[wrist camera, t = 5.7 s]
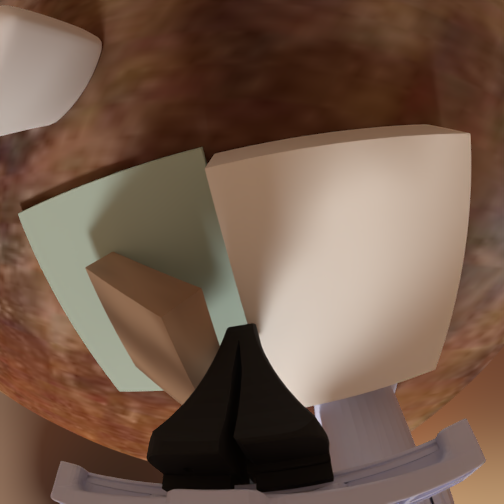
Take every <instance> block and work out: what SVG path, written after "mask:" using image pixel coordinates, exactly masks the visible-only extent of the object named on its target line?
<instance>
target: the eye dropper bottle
mask: <svg viewBox="0 0 504 504" xmlns="http://www.w3.org/2000/svg"><path fill="white" fill-rule="evenodd" d="M101 50H102V42H101V41H100V39H99V38H98V37H96V36H95V35H93V34H91V33H90V32H88V31H86V30H84V29H82V28H80V27H77V26H74V25H72V24H69V23H66V22H64V21H61V20H58V19H55V18H52V17H49V16H46V15H43V14H39V13H36V12H33V11H29V10H26V9H22V8H17V7H13V6H7V5H2V6H0V136H3V135H7V134H11V133H15V132H19V131H24V130H28V129H33V128H37V127H42V126H47V125H51V124H53V123H55V122H57V121H58V120H59V119H60V118H61V117H62V116H63V115H65V113H66V112H67V111H68V110H69V109H70V108H71V107H72V106H73V105H74V103H75V102H76V101H77V99H78V98H79V97H80V95H81V94H82V92H83V91H84V89H85V88H86V86H87V84H88V82H89V81H90V79H91V77H92V75H93V72H94V70H95V68H96V65H97V63H98V60H99V57H100V54H101Z"/></svg>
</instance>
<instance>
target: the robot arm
mask: <svg viewBox="0 0 504 504" xmlns="http://www.w3.org/2000/svg"><path fill="white" fill-rule="evenodd" d="M396 387H397V383H396V384H393V385H390V386H387V387H384V388H381V389H377V390H374V391H370V392H367V393H363V394H360V395H356V396H352V397H349V398H345V399H341V400H336V401H332V402H328V403H323V404H319V405H314V412H315V416H314V415H313V414H312V413H311V412H310V411H309V410H308V409H307V408H305V407H304V406H303V405H302V404H301V403H300V402H299V401H298V400H297V399H296V397H295V396H294V395H293V394H292V393H291V392H290V391H289V389H288V388H287V387H286V386H285V384H284V383H283V382H282V381H281V379H280V378H279V376H278V375H277V373H276V372H275V370H274V369H273V367H272V365H271V364H270V362H269V360H268V358H267V357H266V355H265V353H264V350H263V348H262V345H261V341H260V338H259V334H258V330H257V326H256V324H254V323H251V324H245V325H239V326H233V327H228V328H227V330H226V332H225V335H224V338H223V340H222V343H221V345H220V347H219V349H218V351H217V353H216V356H215V358H214V360H213V362H212V363H211V365H210V367H209V369H208V370H207V372H206V374H205V376H204V377H203V379H202V380H201V382H200V383H199V385H198V386H197V388H196V389H195V390H194V392H193V393H192V394H191V395H190V397H189V398H188V399H187V400H186V401H185V403H184V404H183V405H182V406H181V407H180V408H179V409H178V410H177V411H176V412H175V413H174V414H173V415H172V416H171V417H170V418H169V419H168V420H166V421H165V422H164V423H163V424H162V425H160V426H159V427H158V428H157V429H155V430H154V431H153V433H152V436H151V438H150V442H149V447H148V452H147V460H148V461H149V462H150V463H151V464H152V465H153V466H154V467H155V468H157V469H158V470H159V471H160V472H162V473H163V474H164V475H163V483H162V484H158V483H148V482H140V481H133V480H125V479H120V478H114V477H108V476H103V475H98V474H94V473H89V472H87V471H86V470H85V469H84V468H82V467H80V466H78V465H75V464H72V463H68V462H64V461H61V463H60V466H59V469H58V472H57V476H56V479H55V483H54V486H53V490H52V493H51V499H53V500H55V501H57V502H59V503H60V504H454V501H453V498H452V494H451V492H450V487H452V486H454V485H456V484H458V483H460V482H461V481H463V480H465V479H466V478H467V477H468V476H470V475H471V474H472V473H473V472H475V471H476V470H477V469H478V468H479V467H480V466H482V465H483V464H484V463H485V461H486V459H485V457H484V455H483V453H482V450H481V448H480V446H479V444H478V442H477V439H476V437H475V435H474V434H473V431H472V429H471V427H470V425H469V423H468V421H467V419H463V420H461V421H459V422H457V423H455V424H453V425H451V426H448V427H447V428H445V429H443V430H442V431H440V432H439V433H438V435H437V437H436V439H433V440H431V441H429V442H426V443H424V444H422V445H419V446H415V444H414V441H413V438H412V436H411V433H410V430H409V428H408V425H407V423H406V420H405V418H404V415H403V413H402V410H401V408H400V405H399V403H398V401H397V398H396V396H395V391H396Z"/></svg>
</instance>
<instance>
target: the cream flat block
mask: <svg viewBox="0 0 504 504" xmlns="http://www.w3.org/2000/svg"><path fill="white" fill-rule="evenodd" d="M205 172H206V176H207V180H208V183H209V187H210V191H211V195H212V199H213V202H214V206H215V210H216V214H217V217H218V221H219V225H220V228H221V232H222V236H223V239H224V243H225V247H226V250H227V254H228V258H229V261H230V265H231V268H232V272H233V275H234V279H235V283H236V286H237V290H238V293H239V297H240V300H241V303H242V307H243V310H244V314H245V317H246V321H247V324H251V323H254V324H256V326H257V330H258V334H259V338H260V341H261V345H262V348H263V350H264V353H265V355H266V357H267V358H268V360H269V362H270V364H271V365H272V367H273V369H274V370H275V372H276V373H277V375H278V376H279V378H280V379H281V381H282V382H283V383H284V384H285V386H286V387H287V388H288V389H289V391H290V392H291V393H292V394H293V395H294V396H295V397H296V399H297V400H298V401H299V402H300V403H301V404H302V405H303V406H304V407H309V406H314V405H319V404H323V403H328V402H332V401H336V400H341V399H345V398H349V397H352V396H356V395H360V394H363V393H367V392H370V391H374V390H377V389H381V388H384V387H387V386H390V385H393V384H396V383H399V382H402V381H405V380H408V379H411V378H414V377H416V376H419V375H422V374H424V373H427V372H430V371H432V370H435V369H436V366H437V363H438V360H439V357H440V354H441V351H442V348H443V345H444V341H445V338H446V335H447V331H448V328H449V324H450V320H451V317H452V313H453V309H454V305H455V300H456V296H457V291H458V287H459V282H460V277H461V271H462V266H463V260H464V253H465V246H466V239H467V230H468V220H469V209H470V192H471V137H470V133H467V132H462V131H458V130H453V129H449V128H444V127H439V126H434V125H428V124H418V125H399V126H385V127H373V128H363V129H353V130H344V131H336V132H328V133H321V134H314V135H308V136H301V137H295V138H289V139H283V140H278V141H272V142H267V143H262V144H256V145H252V146H247V147H242V148H237V149H233V150H228V151H224V152H220V153H215V154H214V155H213V157H212V158H211V160H210V161H209V163H208V164H207V166H206V167H205Z"/></svg>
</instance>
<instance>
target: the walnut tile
mask: <svg viewBox="0 0 504 504" xmlns="http://www.w3.org/2000/svg"><path fill="white" fill-rule="evenodd" d="M85 269H86V271H87V273H88V276H89V278H90V280H91V282H92V285H93V287H94V289H95V291H96V293H97V295H98V297H99V300H100V302H101V304H102V306H103V308H104V310H105V312H106V314H107V316H108V318H109V320H110V322H111V323H112V325H113V327H114V329H115V331H116V333H117V335H118V337H119V338H120V340H121V342H122V344H123V346H124V347H125V349H126V351H127V353H128V354H129V356H130V358H131V359H132V361H133V363H134V364H135V366H136V367H137V368H138V369H139V370H140V371H141V372H143V373H144V374H145V375H146V376H147V377H148V378H150V379H151V380H152V381H153V382H154V383H155V384H157V385H158V386H159V387H160V388H161V389H163V390H164V391H165V392H166V393H168V394H169V395H170V396H171V397H173V398H174V399H175V400H176V401H178V402H179V403H180V404H182V405H183V404H184V403H185V401H186V400H187V399H188V398H189V397H190V395H191V394H192V393H193V392H194V390H195V389H196V388H197V386H198V385H199V383H200V382H201V380H202V379H203V377H204V376H205V374H206V372H207V370H208V369H209V367H210V365H211V363H212V362H213V360H214V358H215V356H216V353H217V351H218V349H219V347H220V345H219V342H218V339H217V336H216V333H215V330H214V326H213V323H212V320H211V317H210V314H209V311H208V307H207V304H206V301H205V298H204V294H203V291H202V288H200V287H197V286H195V285H192V284H189V283H187V282H184V281H182V280H179V279H177V278H174V277H172V276H170V275H167V274H165V273H162V272H160V271H157V270H155V269H153V268H150V267H148V266H145V265H143V264H141V263H138V262H136V261H134V260H131V259H129V258H127V257H124V256H122V255H120V254H117V253H115V252H111V253H109V254H108V255H106V256H104V257H102V258H101V259H99V260H97V261H95V262H94V263H92V264H90V265H88V266H87V267H85Z"/></svg>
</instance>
